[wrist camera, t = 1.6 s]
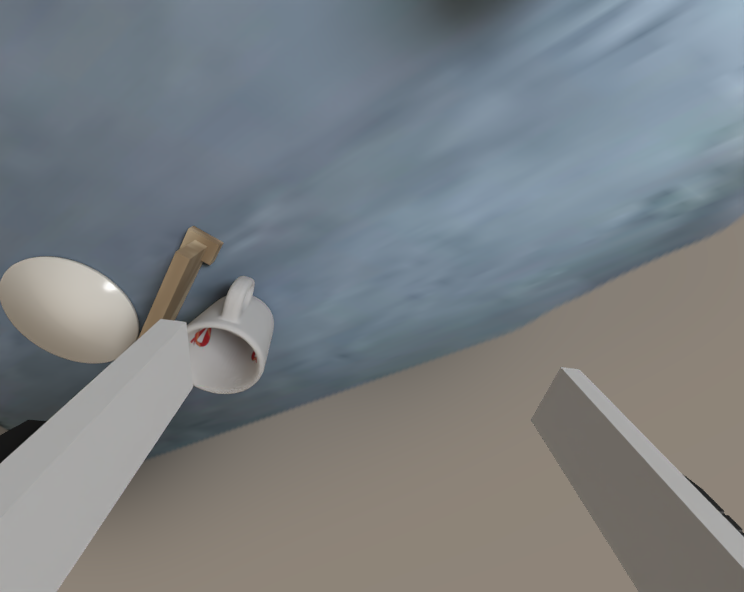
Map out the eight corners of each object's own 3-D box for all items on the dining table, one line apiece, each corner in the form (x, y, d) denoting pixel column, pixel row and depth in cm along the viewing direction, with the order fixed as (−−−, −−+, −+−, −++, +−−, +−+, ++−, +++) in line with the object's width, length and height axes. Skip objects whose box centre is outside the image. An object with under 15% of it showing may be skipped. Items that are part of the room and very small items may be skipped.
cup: (218, 249, 31) (176, 282, 23) (296, 273, 32) (279, 311, 25) (204, 334, 35) (165, 383, 28) (273, 352, 37) (254, 403, 29)
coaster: (-6, 328, 33) (-10, 330, 33) (14, 230, 29) (9, 231, 28) (121, 377, 37) (118, 379, 37) (155, 298, 33) (153, 299, 32)
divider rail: (126, 377, 37) (98, 406, 33) (193, 225, 29) (167, 239, 25) (151, 387, 38) (127, 416, 34) (223, 242, 30) (203, 258, 26)
